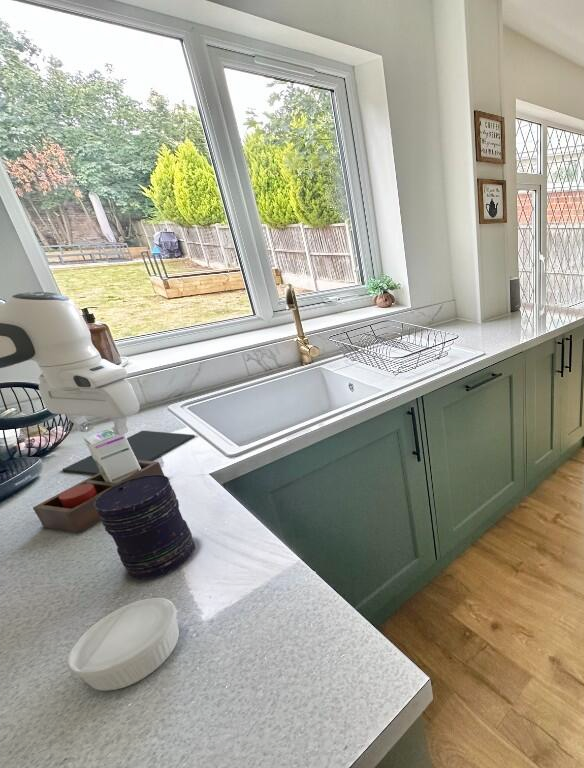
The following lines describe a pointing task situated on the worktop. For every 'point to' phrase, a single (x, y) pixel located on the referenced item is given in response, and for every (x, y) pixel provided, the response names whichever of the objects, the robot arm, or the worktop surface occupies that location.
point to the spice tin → (77, 495)
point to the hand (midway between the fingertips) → (104, 432)
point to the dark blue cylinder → (146, 526)
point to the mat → (137, 449)
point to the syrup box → (112, 455)
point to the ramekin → (126, 644)
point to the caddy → (85, 513)
